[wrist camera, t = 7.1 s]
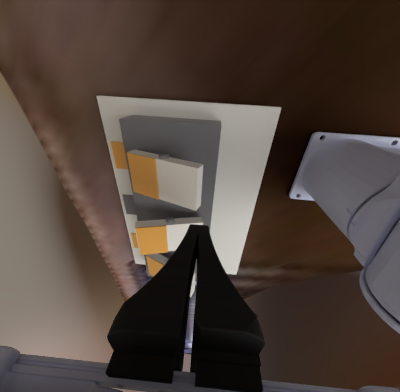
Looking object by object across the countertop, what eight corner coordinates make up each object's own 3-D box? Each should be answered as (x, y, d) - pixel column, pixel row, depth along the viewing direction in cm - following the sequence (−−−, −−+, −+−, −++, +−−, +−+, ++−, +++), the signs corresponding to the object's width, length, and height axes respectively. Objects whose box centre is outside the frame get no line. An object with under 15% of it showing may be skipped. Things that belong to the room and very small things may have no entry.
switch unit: (278, 106, 17) (293, 110, 13) (235, 269, 31) (237, 291, 27) (102, 95, 18) (74, 96, 14) (137, 258, 32) (128, 278, 28)
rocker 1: (204, 161, 14) (197, 166, 13) (200, 206, 16) (195, 213, 15) (135, 147, 16) (125, 150, 15) (141, 188, 18) (133, 193, 17)
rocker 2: (201, 214, 19) (203, 221, 18) (199, 242, 21) (201, 250, 20) (135, 219, 18) (134, 227, 17) (141, 247, 20) (140, 256, 19)
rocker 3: (196, 271, 21) (191, 279, 20) (194, 291, 23) (190, 299, 22) (151, 248, 24) (145, 254, 23) (154, 268, 26) (148, 274, 25)
